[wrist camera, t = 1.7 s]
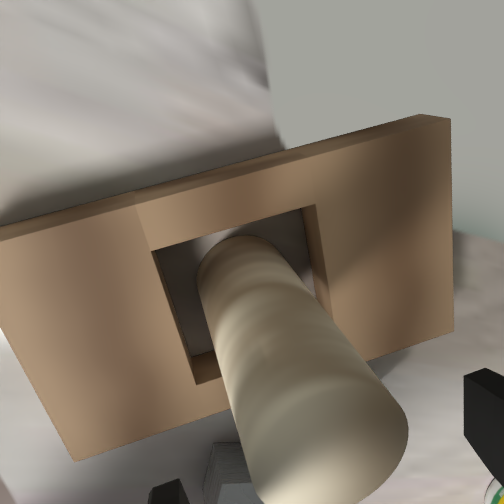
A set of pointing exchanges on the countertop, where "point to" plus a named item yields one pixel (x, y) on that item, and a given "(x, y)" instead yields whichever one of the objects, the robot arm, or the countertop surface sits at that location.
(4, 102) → the countertop surface
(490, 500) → the supplement bottle
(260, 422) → the birch axle
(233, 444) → the steel V-block
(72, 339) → the wooden board with cutouts
